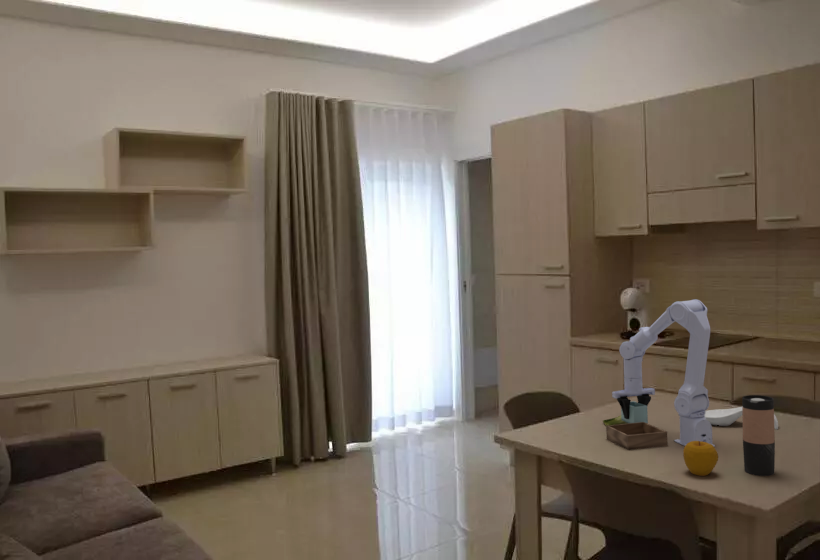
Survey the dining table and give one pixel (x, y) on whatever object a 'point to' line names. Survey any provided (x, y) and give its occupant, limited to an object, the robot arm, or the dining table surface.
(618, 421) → the fennel bulb
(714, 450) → the apple
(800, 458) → the dining table surface
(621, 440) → the crate
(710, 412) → the spoon rest
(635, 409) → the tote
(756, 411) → the travel mug
